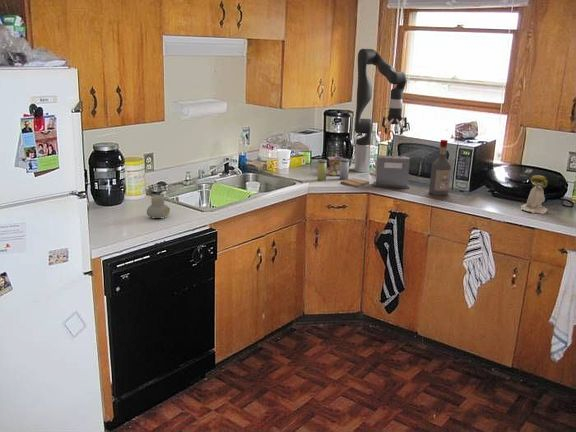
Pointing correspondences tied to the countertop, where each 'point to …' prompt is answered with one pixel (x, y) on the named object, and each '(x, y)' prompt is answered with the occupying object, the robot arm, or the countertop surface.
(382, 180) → the box
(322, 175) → the green cartridge
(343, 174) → the cylinder
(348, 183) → the pad
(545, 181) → the beige tapered lump
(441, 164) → the liquor
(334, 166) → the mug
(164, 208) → the grey brown bulbous piece
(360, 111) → the robot arm
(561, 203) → the countertop surface
